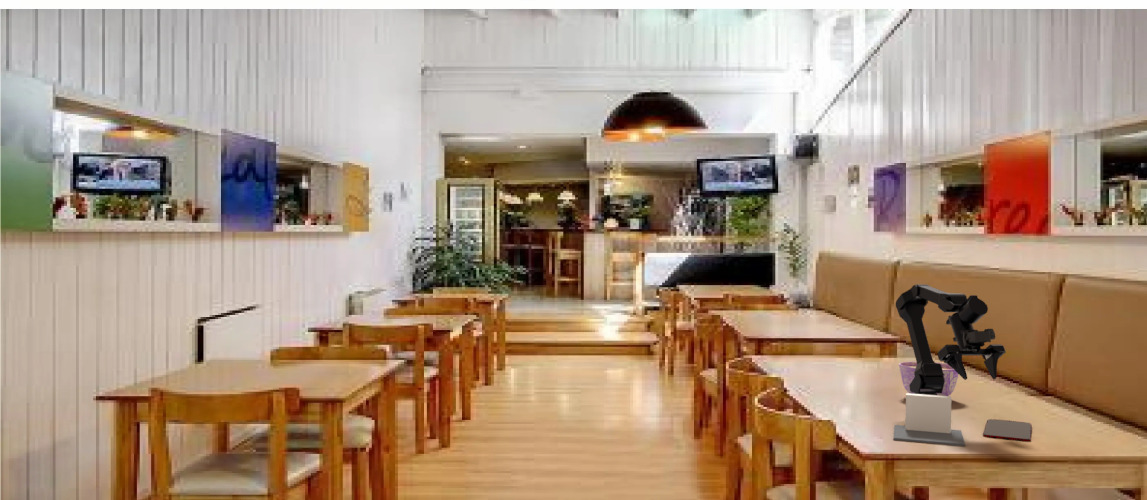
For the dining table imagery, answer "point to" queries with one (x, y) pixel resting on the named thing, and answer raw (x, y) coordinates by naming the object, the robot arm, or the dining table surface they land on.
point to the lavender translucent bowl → (908, 376)
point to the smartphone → (1008, 430)
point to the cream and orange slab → (928, 413)
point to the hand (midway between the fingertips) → (980, 379)
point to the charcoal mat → (929, 436)
